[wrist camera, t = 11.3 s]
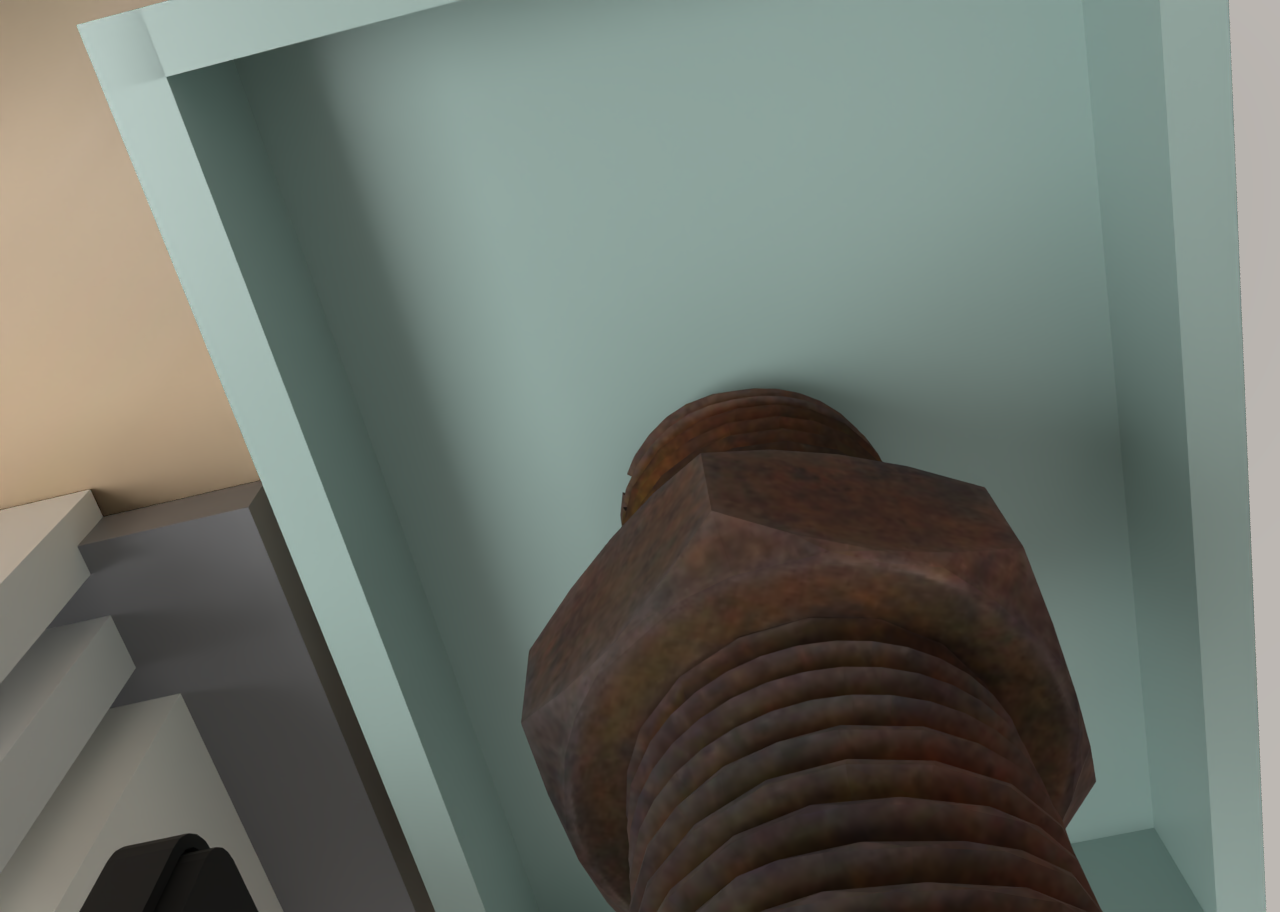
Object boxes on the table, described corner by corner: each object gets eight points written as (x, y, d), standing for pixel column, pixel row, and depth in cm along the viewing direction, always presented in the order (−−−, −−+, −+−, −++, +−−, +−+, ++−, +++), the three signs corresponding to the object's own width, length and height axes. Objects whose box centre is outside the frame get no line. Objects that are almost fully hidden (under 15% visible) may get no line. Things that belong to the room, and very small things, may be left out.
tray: (172, 8, 13) (75, 25, 11) (1104, -240, 12) (1216, -280, 10) (525, 955, 18) (511, 1100, 16) (1184, 827, 18) (1268, 961, 15)
